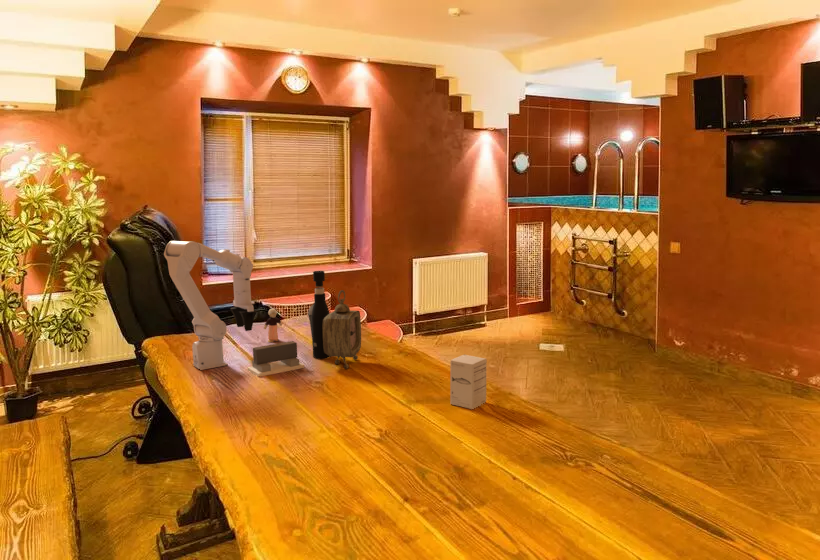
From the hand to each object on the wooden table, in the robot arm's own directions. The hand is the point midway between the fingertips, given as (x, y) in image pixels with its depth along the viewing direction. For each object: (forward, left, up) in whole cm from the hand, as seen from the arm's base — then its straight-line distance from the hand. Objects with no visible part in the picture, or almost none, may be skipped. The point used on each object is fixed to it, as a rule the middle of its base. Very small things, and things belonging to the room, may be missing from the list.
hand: (244, 328), depth 228 cm
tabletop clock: (+21, -33, -10) cm, 40 cm away
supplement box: (+29, -88, -10) cm, 93 cm away
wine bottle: (+20, -20, -10) cm, 30 cm away
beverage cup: (+27, -4, -10) cm, 29 cm away
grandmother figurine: (+16, +12, -10) cm, 22 cm away
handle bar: (+1, -24, -6) cm, 25 cm away
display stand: (+1, -24, -9) cm, 26 cm away
